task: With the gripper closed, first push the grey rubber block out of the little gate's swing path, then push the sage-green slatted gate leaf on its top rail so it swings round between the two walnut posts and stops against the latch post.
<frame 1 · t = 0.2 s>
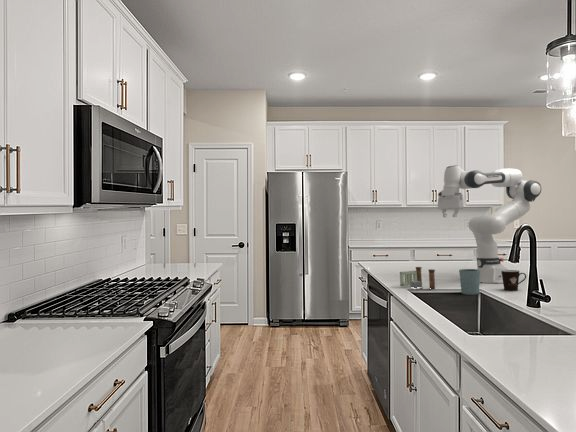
hand: (449, 217, 277), 39 cm above the worktop, tool pointing down, fingers open, 8 cm apart
gate leaf: (408, 278, 273), point 5 cm above the worktop, hinge at -80.0°
rubber block: (416, 288, 267), on the worktop
coffee mug: (514, 290, 251), on the worktop
teal cup: (470, 293, 246), on the worktop
latch post: (432, 289, 262), on the worktop
hinge post: (419, 285, 276), on the worktop
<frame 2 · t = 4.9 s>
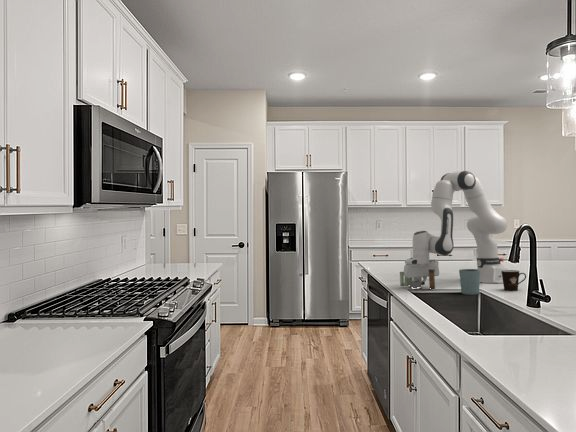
hand: (422, 285, 267), 2 cm above the worktop, tool pointing down, fingers closed
rubber block: (415, 288, 267), on the worktop, touching gripper
everything else where it was.
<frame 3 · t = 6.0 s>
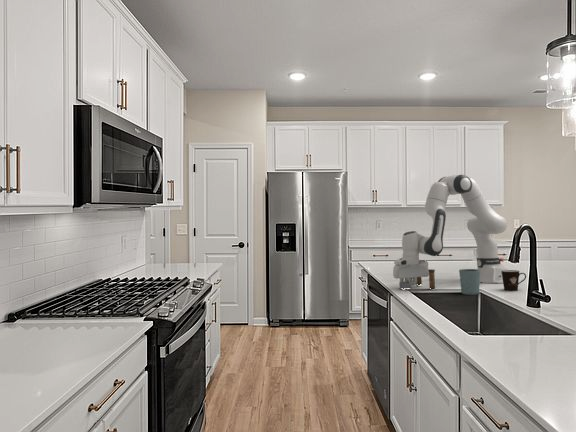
hand: (411, 285, 266), 2 cm above the worktop, tool pointing down, fingers closed
rubber block: (405, 289, 265), on the worktop, touching gripper
everything else where it was.
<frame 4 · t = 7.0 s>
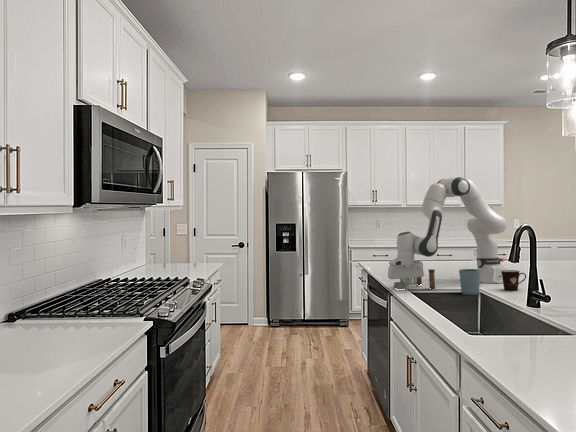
hand: (406, 286, 265), 2 cm above the worktop, tool pointing down, fingers closed
rubber block: (399, 289, 264), on the worktop, touching gripper
everything else where it was.
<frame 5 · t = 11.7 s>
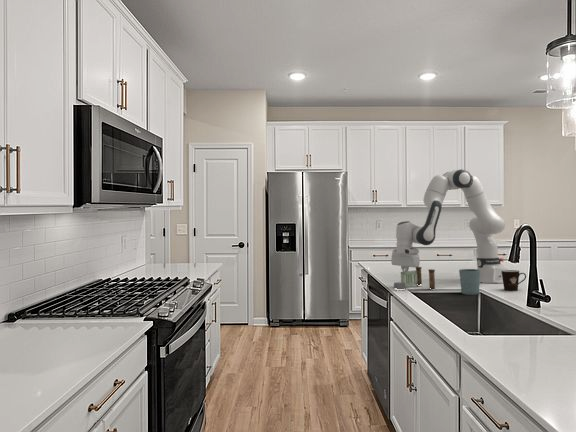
hand: (405, 274, 274), 7 cm above the worktop, tool pointing down, fingers closed
gate leaf: (409, 278, 272), point 5 cm above the worktop, hinge at -75.8°, touching gripper
rubber block: (399, 290, 264), on the worktop
everything else where it was.
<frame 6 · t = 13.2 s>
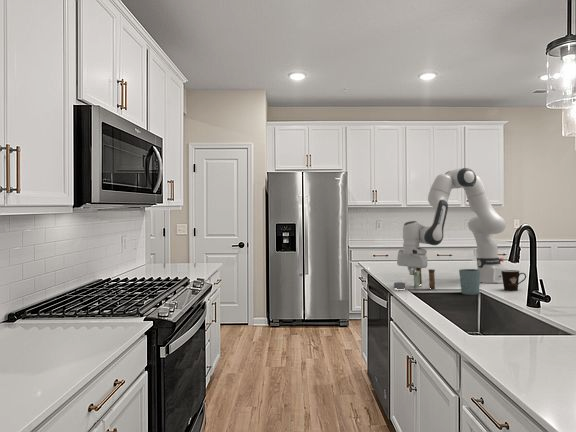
hand: (412, 274, 269), 7 cm above the worktop, tool pointing down, fingers closed
gate leaf: (416, 278, 269), point 5 cm above the worktop, hinge at -37.2°, touching gripper
everything else where it was.
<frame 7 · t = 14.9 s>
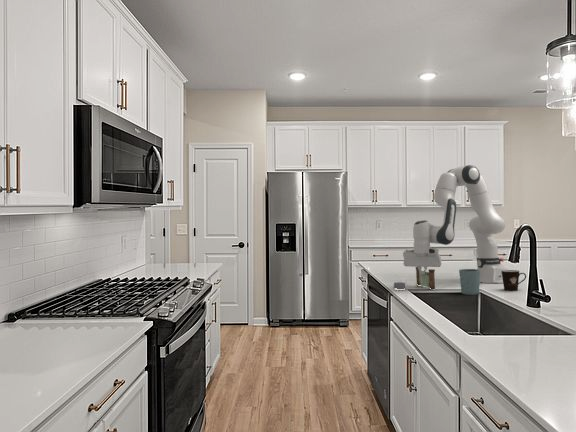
hand: (422, 274, 266), 8 cm above the worktop, tool pointing down, fingers closed
gate leaf: (425, 278, 269), point 5 cm above the worktop, hinge at -0.8°, touching gripper
everything else where it was.
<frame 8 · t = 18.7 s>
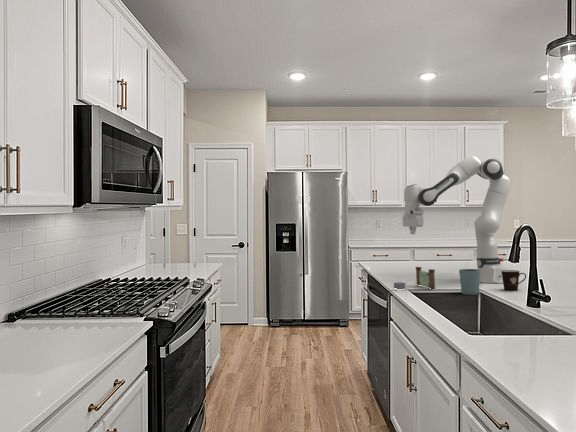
hand: (412, 234, 291), 29 cm above the worktop, tool pointing down, fingers closed
gate leaf: (425, 278, 269), point 5 cm above the worktop, hinge at -0.8°
everything else where it was.
at the end: gate leaf at -1° (first picture: -80°); rubber block inside the target area (1.9 cm from its centre), on the worktop; rubber block touching worktop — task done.
